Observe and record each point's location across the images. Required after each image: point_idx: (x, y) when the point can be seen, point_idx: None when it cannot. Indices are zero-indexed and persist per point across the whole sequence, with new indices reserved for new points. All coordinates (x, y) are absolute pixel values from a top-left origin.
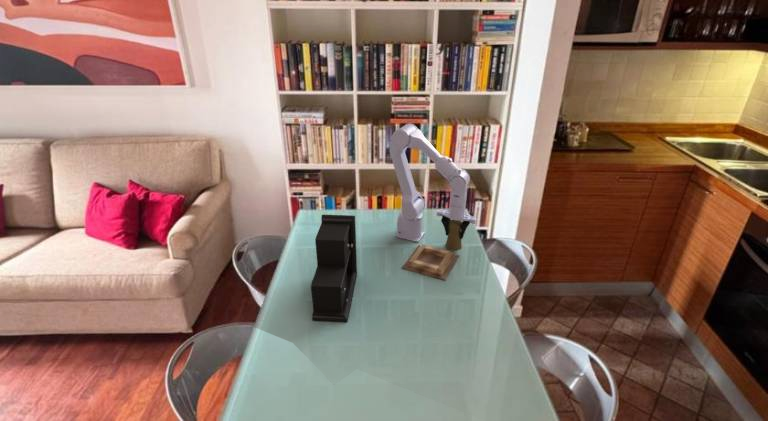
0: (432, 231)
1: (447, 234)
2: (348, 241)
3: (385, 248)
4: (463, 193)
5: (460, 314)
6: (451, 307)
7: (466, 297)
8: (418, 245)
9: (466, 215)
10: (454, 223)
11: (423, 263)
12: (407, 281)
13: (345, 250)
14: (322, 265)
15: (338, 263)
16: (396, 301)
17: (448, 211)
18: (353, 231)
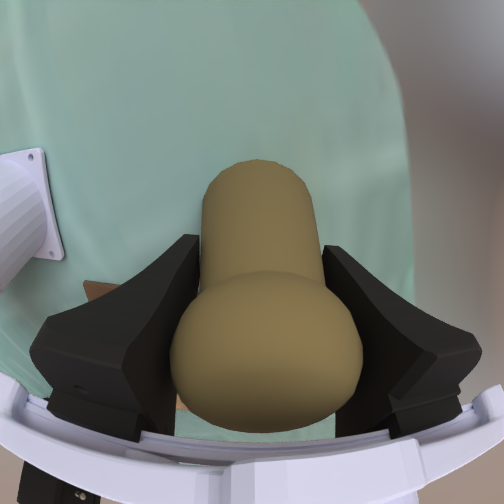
0: (69, 98)
1: (197, 288)
2: (63, 487)
3: (27, 320)
4: None
5: (317, 435)
6: (299, 433)
7: (331, 415)
8: (84, 287)
9: (445, 456)
10: (259, 432)
11: (184, 406)
12: (176, 414)
13: (90, 500)
14: None
15: None
16: (190, 438)
17: (72, 466)
18: (59, 502)
